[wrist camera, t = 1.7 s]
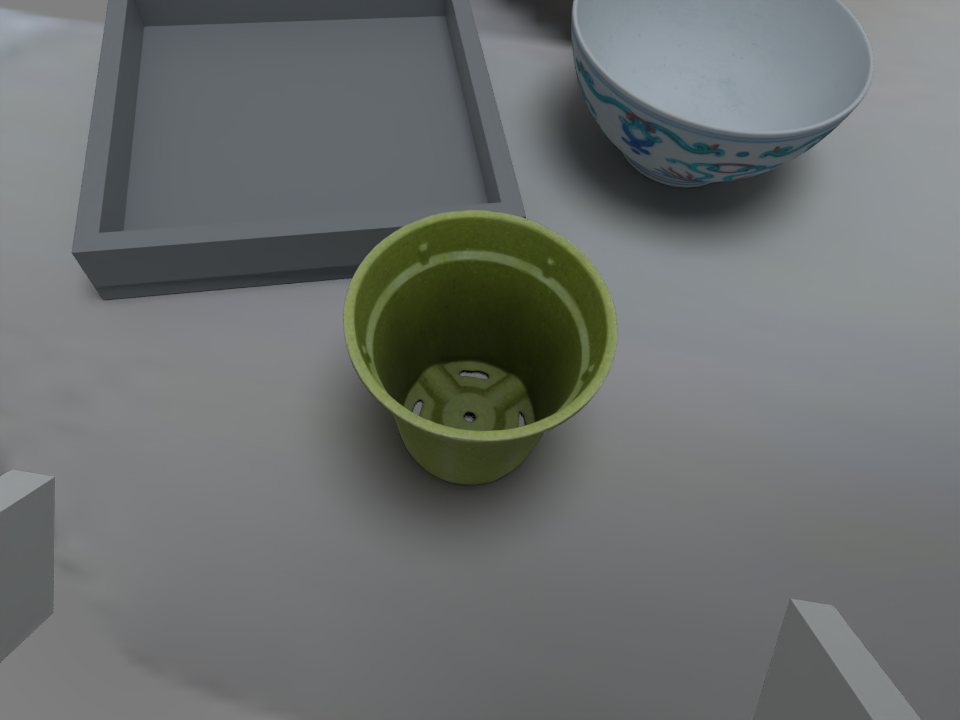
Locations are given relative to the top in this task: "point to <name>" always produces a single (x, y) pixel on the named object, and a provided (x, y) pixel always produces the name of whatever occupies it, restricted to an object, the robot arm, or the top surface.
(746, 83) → the chinaware
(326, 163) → the tray
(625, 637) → the top surface
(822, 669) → the robot arm
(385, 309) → the plant pot
